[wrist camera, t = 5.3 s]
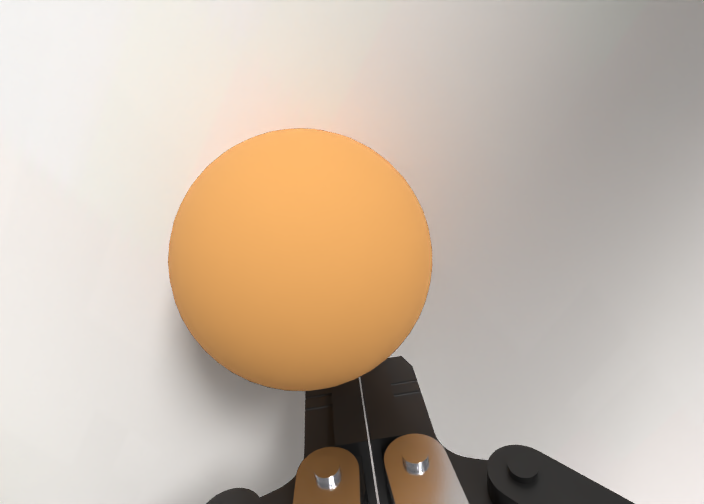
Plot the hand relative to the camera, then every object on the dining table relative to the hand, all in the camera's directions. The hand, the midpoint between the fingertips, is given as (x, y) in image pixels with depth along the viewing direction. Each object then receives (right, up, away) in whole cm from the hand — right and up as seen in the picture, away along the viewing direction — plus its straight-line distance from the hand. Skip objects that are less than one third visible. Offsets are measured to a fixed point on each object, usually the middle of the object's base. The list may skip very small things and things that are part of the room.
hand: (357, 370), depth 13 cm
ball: (-1, +3, -3) cm, 5 cm away
